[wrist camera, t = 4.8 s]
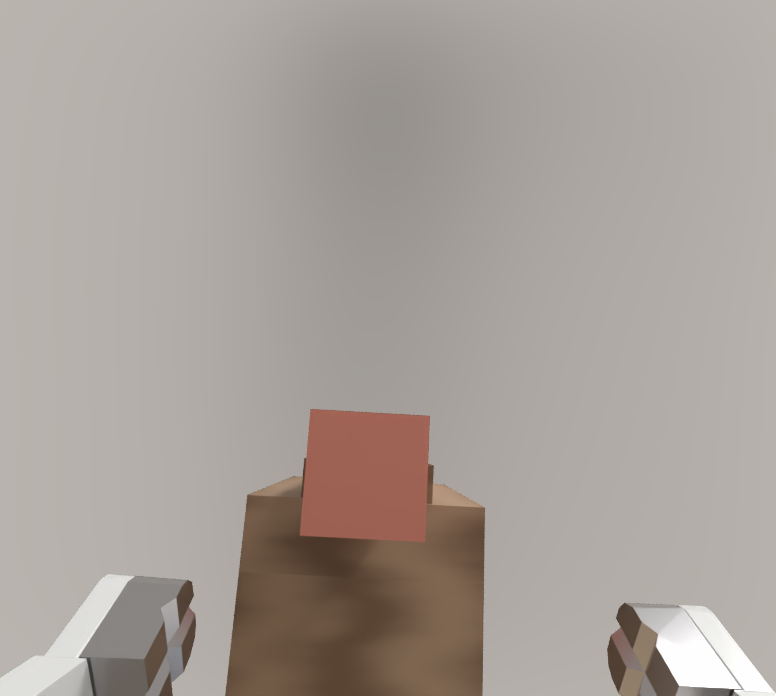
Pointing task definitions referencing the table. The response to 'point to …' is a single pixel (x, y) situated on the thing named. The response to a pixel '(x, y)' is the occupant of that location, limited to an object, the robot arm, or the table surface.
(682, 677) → the robot arm
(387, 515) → the salmon pink rectangular bar
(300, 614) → the pin stand
